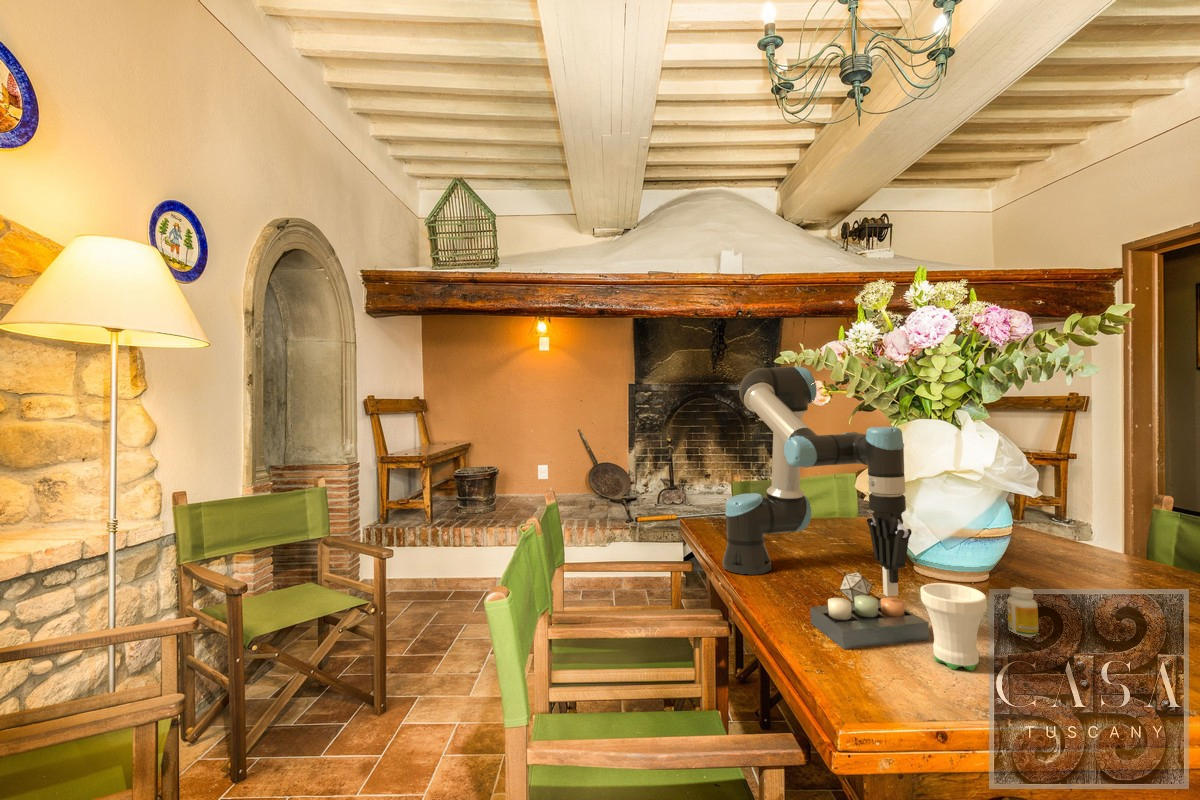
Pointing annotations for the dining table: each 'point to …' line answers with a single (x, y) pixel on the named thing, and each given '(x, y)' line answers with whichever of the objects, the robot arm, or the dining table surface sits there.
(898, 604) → the terracotta button
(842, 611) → the ivory button
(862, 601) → the sage button
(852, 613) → the panel
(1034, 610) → the supplement bottle
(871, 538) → the robot arm
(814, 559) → the dining table surface
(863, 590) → the game die
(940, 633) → the cup
